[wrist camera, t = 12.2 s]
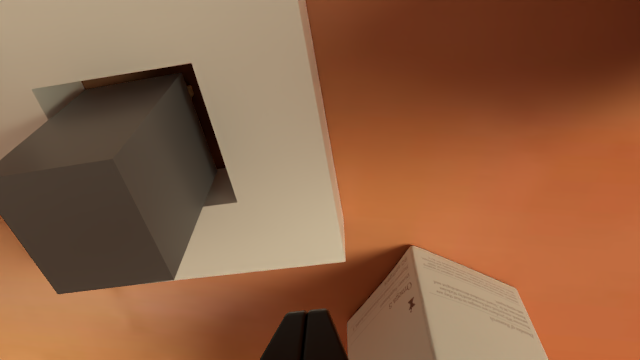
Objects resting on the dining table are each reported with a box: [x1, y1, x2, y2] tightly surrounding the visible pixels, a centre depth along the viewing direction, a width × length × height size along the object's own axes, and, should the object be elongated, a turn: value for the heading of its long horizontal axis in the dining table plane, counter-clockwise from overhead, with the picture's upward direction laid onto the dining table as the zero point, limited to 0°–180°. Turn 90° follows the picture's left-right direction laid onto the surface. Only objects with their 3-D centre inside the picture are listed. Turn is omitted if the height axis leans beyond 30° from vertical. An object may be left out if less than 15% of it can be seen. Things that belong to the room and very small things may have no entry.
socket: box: [0, 0, 346, 285], centre depth 18 cm, size 14×14×4 cm
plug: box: [0, 72, 217, 294], centre depth 16 cm, size 4×4×8 cm
